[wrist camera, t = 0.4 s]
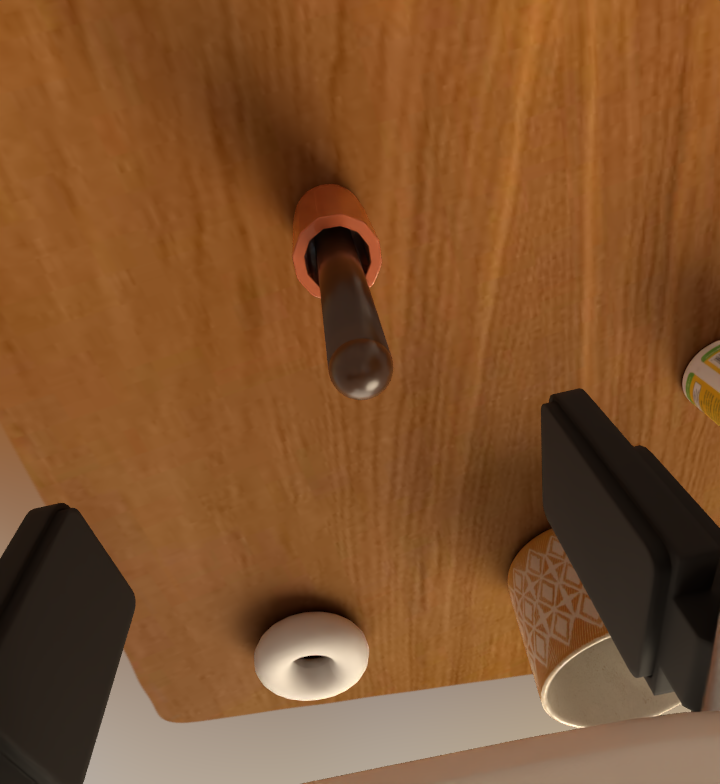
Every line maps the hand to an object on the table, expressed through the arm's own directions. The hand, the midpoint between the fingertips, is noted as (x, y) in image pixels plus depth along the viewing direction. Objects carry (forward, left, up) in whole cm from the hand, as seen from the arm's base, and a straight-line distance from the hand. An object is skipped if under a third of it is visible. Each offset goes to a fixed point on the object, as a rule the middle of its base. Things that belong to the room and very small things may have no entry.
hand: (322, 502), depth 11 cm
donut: (+28, -24, -22) cm, 42 cm away
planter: (+36, -2, -22) cm, 42 cm away
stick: (+1, +1, -21) cm, 21 cm away
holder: (+1, +1, -22) cm, 22 cm away
